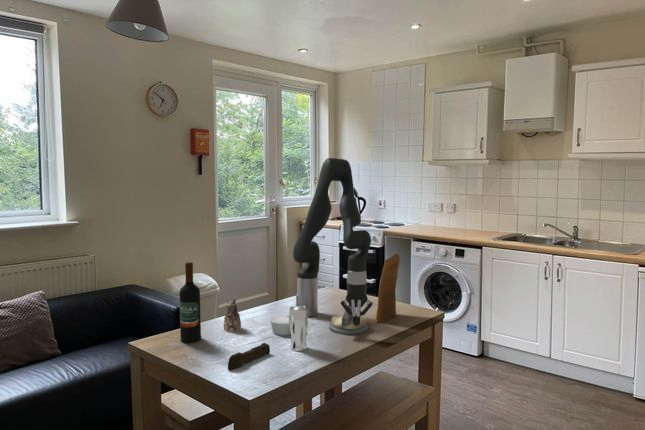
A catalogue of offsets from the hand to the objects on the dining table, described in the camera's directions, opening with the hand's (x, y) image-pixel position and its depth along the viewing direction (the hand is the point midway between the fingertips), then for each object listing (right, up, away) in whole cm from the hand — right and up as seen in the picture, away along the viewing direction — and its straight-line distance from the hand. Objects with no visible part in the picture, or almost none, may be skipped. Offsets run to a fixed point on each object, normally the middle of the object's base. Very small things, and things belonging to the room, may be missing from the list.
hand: (356, 325), depth 188 cm
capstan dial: (-2, -2, +11) cm, 12 cm away
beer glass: (-22, -6, -11) cm, 26 cm away
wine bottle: (-64, -5, -2) cm, 64 cm away
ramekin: (-29, -5, +7) cm, 30 cm away
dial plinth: (-2, -4, +11) cm, 12 cm away
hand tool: (-38, -8, -24) cm, 46 cm away
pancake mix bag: (+16, -3, +25) cm, 30 cm away
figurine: (-50, -4, +10) cm, 52 cm away
